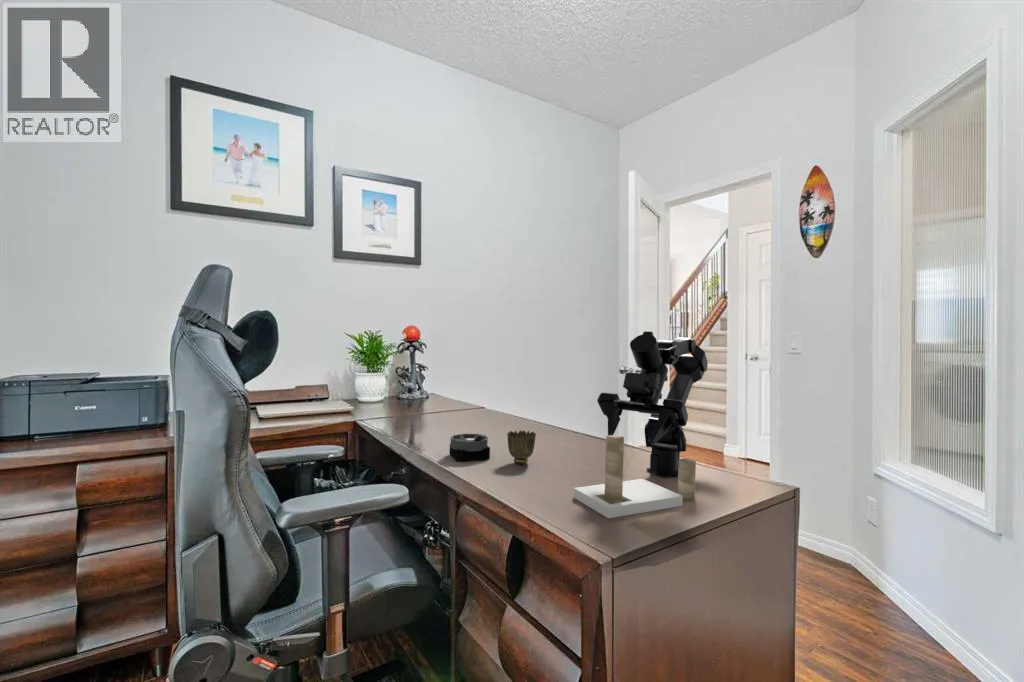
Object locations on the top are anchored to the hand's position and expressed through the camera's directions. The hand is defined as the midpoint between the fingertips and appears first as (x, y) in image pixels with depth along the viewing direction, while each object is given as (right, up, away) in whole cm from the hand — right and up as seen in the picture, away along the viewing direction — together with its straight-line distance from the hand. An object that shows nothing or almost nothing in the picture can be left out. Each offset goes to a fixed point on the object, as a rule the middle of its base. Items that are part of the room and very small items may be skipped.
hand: (629, 440), depth 100 cm
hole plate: (-1, -12, -2) cm, 12 cm away
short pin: (+12, -12, +1) cm, 17 cm away
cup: (-22, -11, +25) cm, 35 cm away
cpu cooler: (-36, -11, +30) cm, 48 cm away
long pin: (-5, -12, -6) cm, 14 cm away
